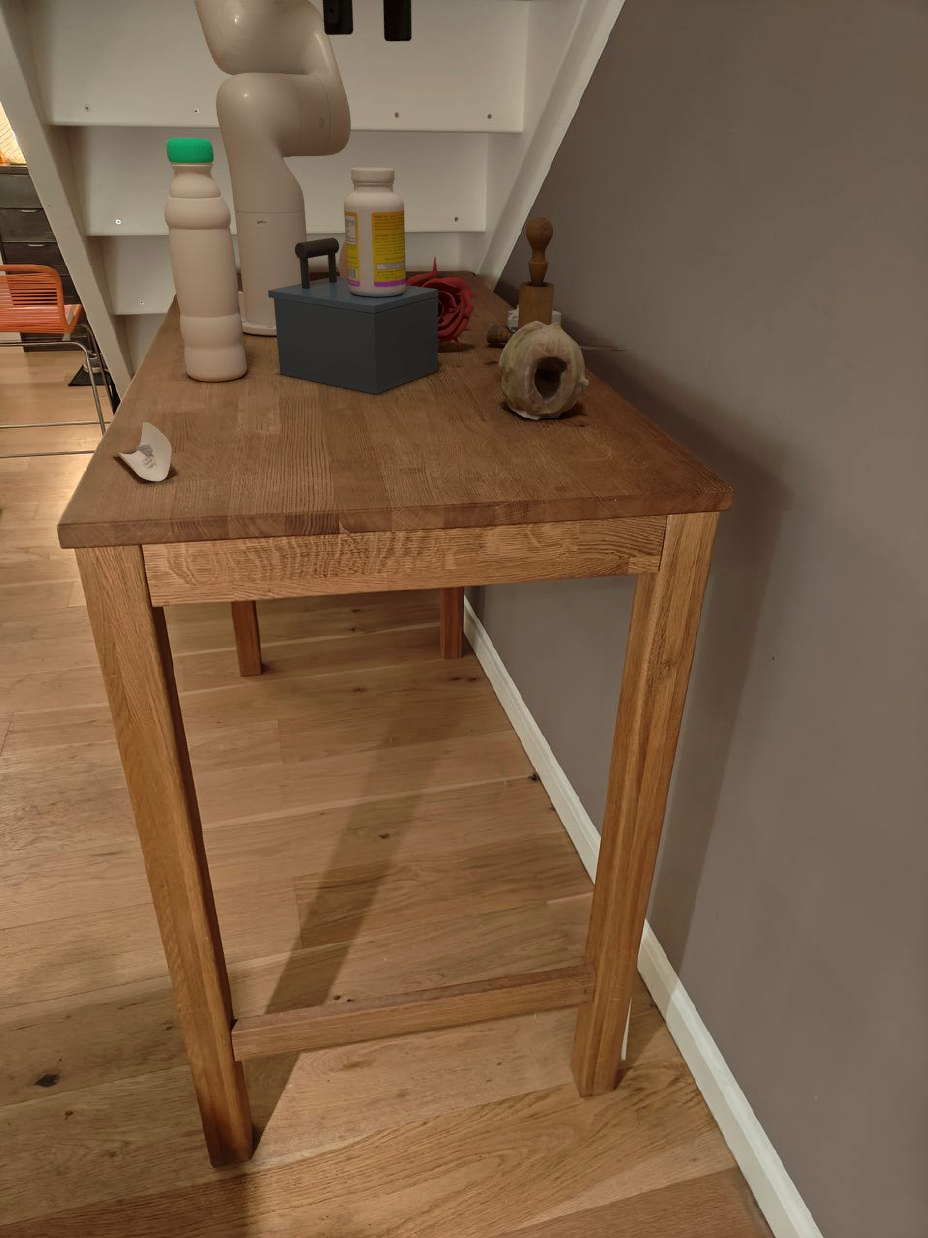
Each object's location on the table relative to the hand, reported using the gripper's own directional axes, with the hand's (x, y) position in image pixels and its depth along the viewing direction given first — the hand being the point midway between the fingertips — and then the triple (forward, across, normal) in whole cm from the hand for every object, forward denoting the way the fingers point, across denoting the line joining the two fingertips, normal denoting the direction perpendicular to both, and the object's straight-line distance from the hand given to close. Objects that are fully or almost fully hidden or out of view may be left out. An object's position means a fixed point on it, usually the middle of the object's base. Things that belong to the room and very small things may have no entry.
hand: (369, 37), depth 89 cm
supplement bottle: (+25, 0, 0) cm, 25 cm away
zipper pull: (+34, -30, +4) cm, 45 cm away
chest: (+34, 0, -3) cm, 34 cm away
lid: (+25, 0, -3) cm, 26 cm away
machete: (+34, -28, +10) cm, 45 cm away
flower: (+34, -24, -8) cm, 43 cm away
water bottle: (+34, +11, -16) cm, 40 cm away
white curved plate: (+33, +36, +2) cm, 48 cm away
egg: (+34, -36, -30) cm, 58 cm away
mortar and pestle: (+34, -9, +16) cm, 39 cm away
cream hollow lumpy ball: (+34, +1, +23) cm, 41 cm away
